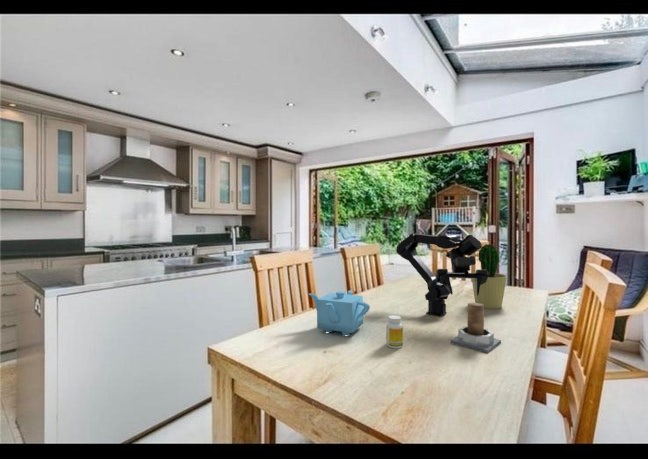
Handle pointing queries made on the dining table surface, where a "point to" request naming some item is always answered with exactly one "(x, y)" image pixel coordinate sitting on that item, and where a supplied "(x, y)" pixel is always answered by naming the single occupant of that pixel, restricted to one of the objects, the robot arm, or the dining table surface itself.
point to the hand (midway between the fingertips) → (464, 294)
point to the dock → (480, 348)
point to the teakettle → (340, 311)
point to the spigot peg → (475, 319)
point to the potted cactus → (490, 279)
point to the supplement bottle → (394, 332)
